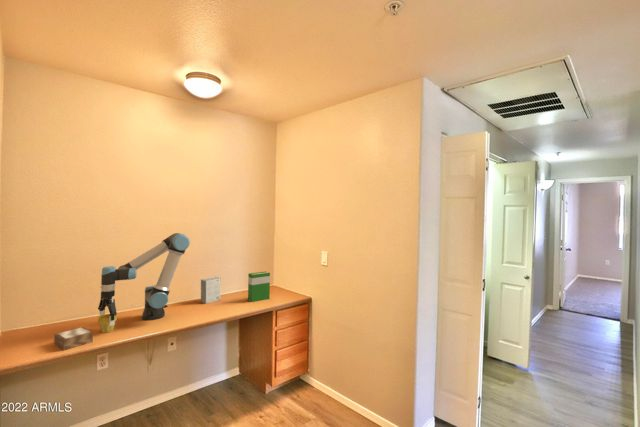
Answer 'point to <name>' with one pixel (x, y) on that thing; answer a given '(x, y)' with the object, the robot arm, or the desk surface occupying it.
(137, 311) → the desk surface
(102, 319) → the plant pot
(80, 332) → the pedestal block
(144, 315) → the robot arm
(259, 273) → the hardback book
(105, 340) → the desk surface
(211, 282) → the hard drive box
